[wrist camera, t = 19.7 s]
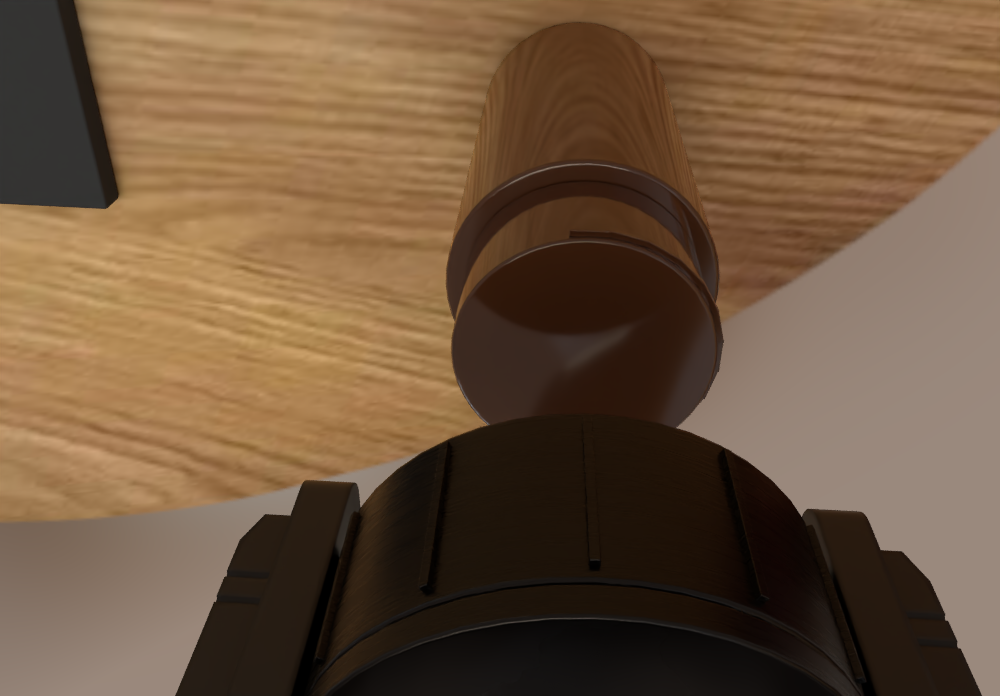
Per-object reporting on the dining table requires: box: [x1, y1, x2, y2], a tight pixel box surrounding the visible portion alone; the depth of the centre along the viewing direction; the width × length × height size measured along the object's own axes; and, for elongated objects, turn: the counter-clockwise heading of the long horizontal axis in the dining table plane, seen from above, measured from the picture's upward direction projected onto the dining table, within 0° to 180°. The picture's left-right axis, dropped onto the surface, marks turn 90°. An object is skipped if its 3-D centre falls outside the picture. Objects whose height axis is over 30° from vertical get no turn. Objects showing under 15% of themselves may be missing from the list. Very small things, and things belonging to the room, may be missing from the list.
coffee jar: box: [446, 23, 724, 428], centre depth 22 cm, size 6×6×14 cm
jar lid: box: [304, 413, 867, 696], centre depth 11 cm, size 6×6×3 cm
